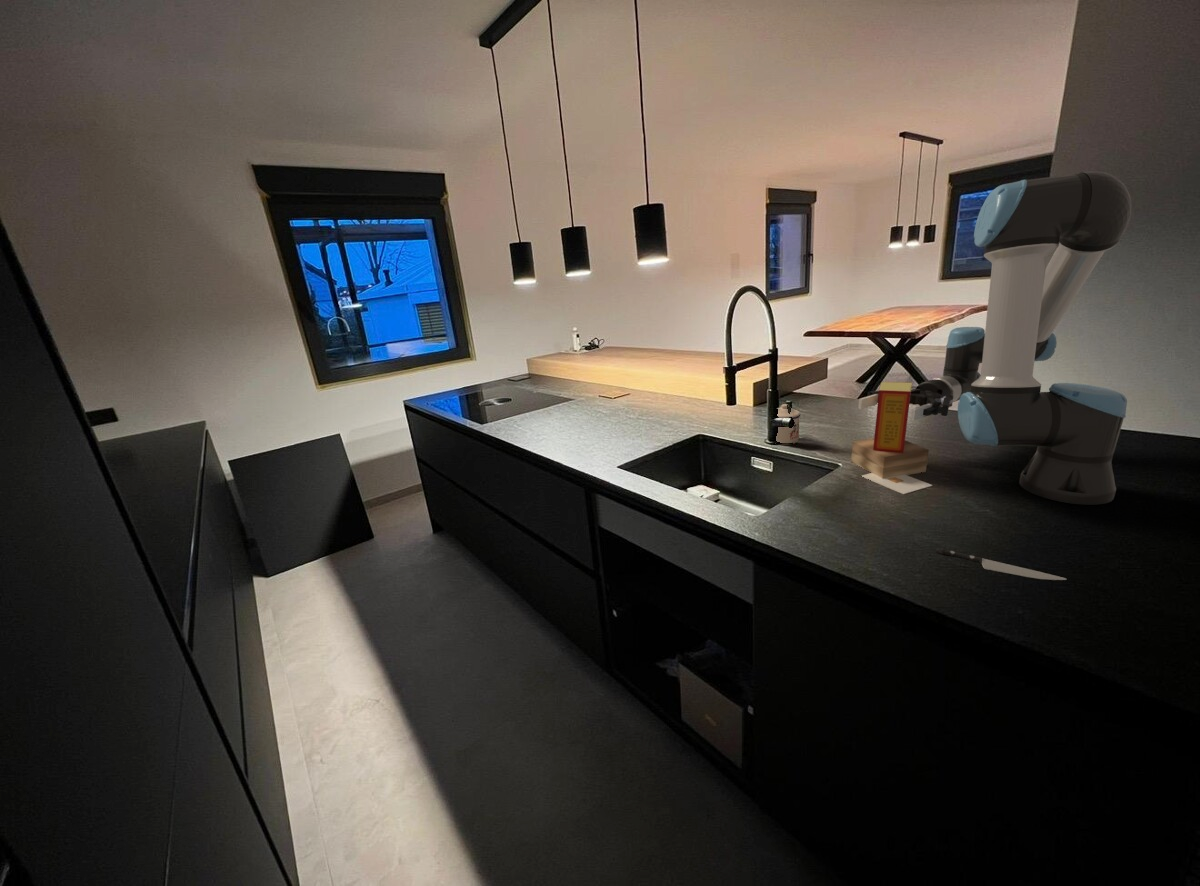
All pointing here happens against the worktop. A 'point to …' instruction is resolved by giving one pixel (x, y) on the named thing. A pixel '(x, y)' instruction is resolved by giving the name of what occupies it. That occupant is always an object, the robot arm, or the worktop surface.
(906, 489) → the page
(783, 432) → the teacup with lid
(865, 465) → the base brick
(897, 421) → the baking soda box
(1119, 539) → the worktop surface
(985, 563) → the chef's knife
